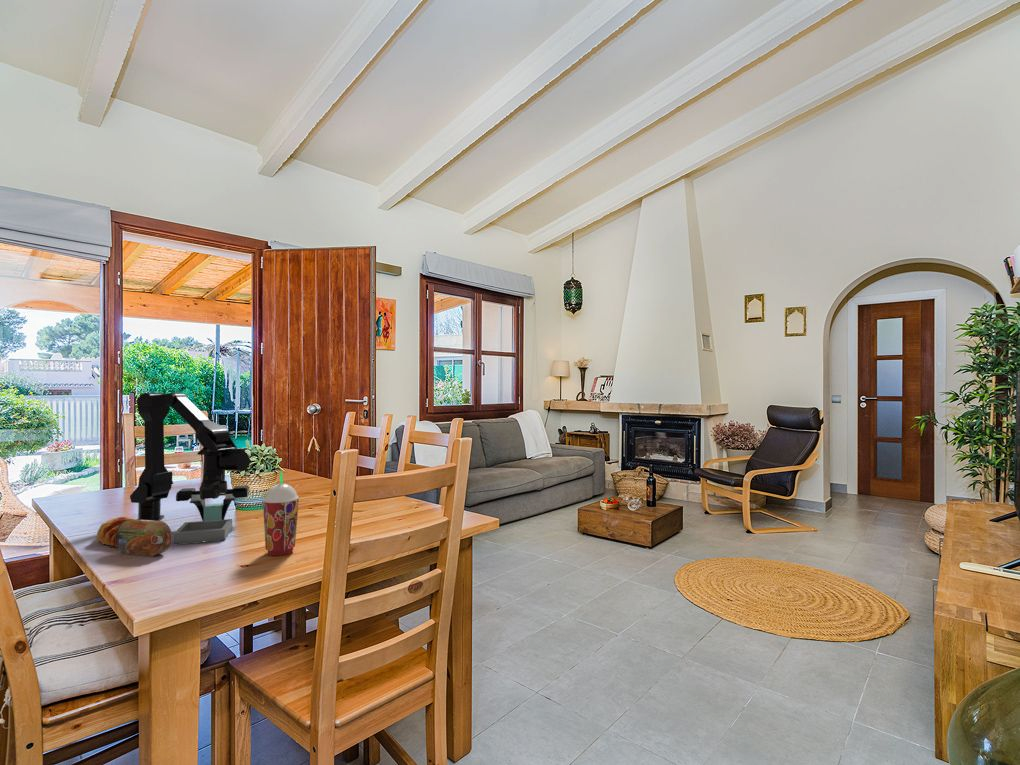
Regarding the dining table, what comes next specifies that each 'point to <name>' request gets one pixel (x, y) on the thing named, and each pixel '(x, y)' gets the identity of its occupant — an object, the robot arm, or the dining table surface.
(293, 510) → the smoothie
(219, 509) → the block
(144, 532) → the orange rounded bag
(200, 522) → the bin
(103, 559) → the dining table surface
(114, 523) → the croissant
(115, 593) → the dining table surface
